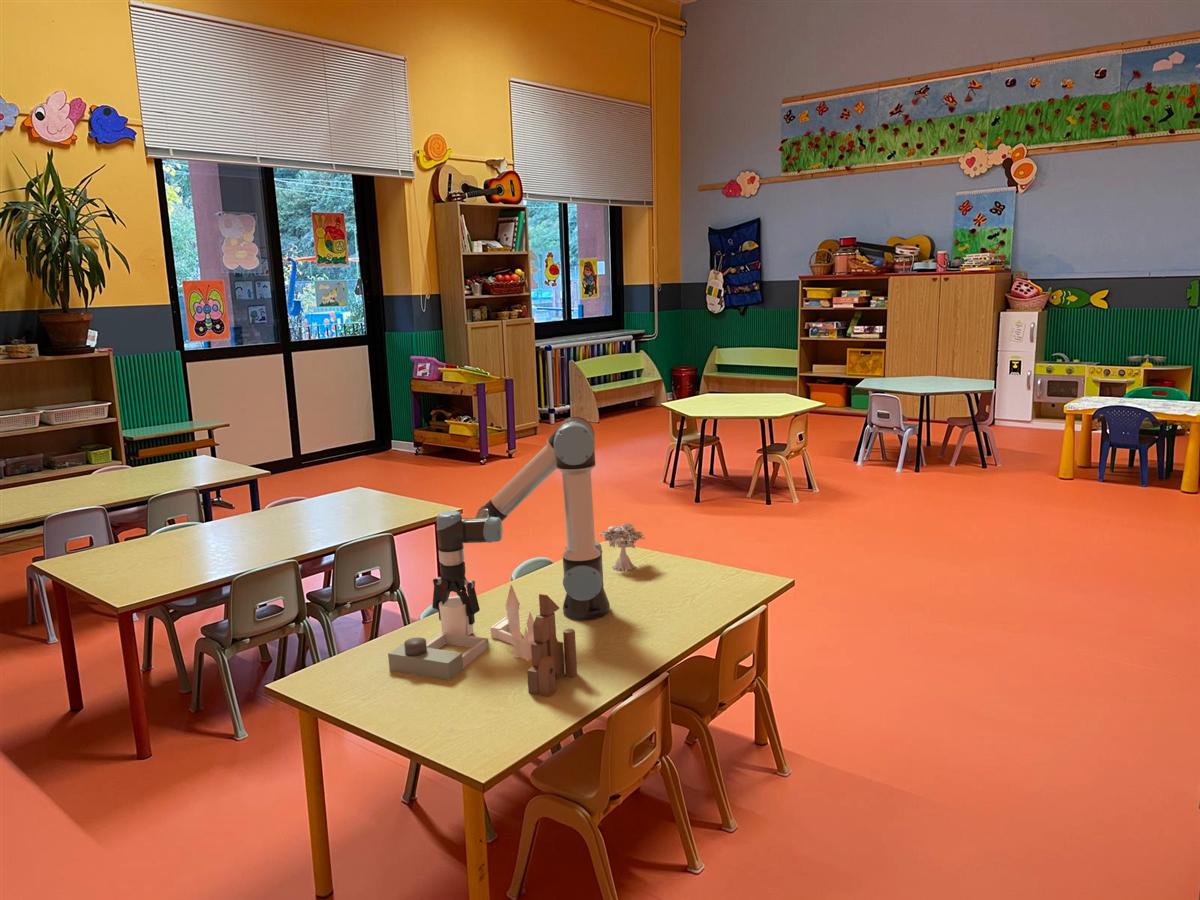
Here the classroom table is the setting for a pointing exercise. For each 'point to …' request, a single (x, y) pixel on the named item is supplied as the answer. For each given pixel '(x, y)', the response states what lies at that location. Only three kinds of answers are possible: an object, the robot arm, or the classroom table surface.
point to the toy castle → (514, 629)
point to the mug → (453, 616)
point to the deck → (436, 655)
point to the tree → (622, 543)
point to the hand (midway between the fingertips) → (457, 632)
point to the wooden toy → (550, 651)
